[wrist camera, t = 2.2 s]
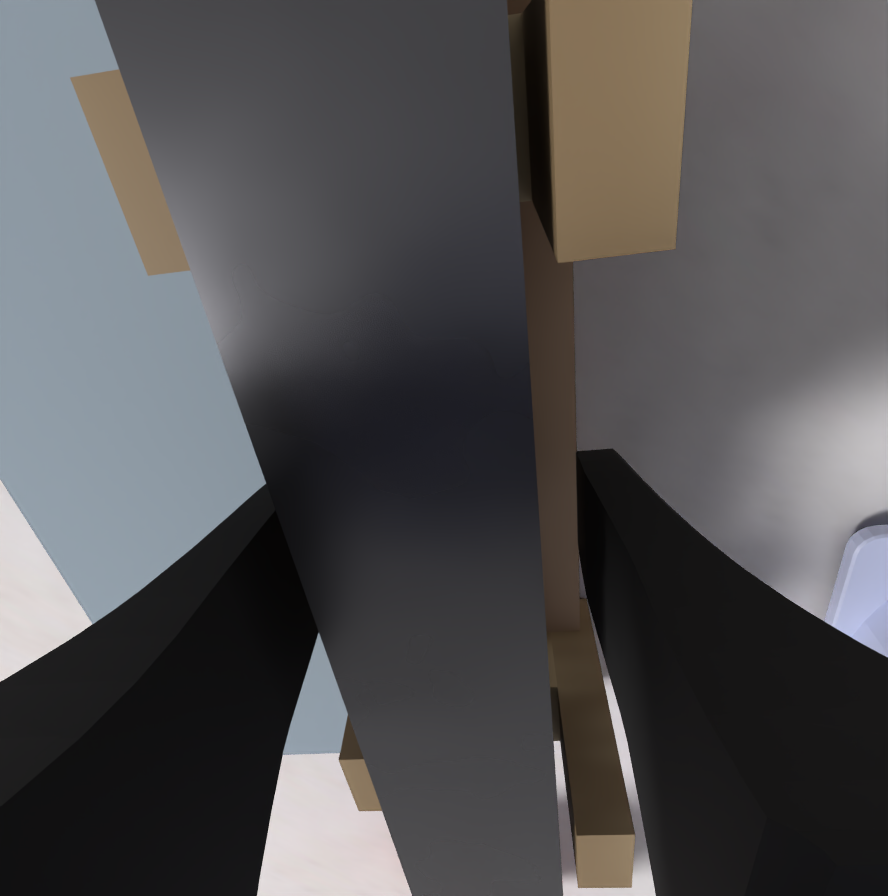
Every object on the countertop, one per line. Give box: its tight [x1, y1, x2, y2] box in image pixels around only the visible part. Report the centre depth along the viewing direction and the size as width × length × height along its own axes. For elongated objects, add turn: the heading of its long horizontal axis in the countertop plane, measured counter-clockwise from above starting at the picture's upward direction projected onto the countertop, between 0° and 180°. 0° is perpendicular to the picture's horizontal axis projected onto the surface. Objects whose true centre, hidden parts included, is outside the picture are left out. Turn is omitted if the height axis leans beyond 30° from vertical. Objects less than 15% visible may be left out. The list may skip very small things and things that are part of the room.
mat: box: [0, 0, 348, 755], centre depth 13 cm, size 7×21×1 cm, turn 8°
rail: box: [95, 0, 563, 896], centre depth 9 cm, size 3×18×3 cm, turn 8°
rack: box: [70, 0, 692, 888], centre depth 10 cm, size 6×17×6 cm, turn 8°
